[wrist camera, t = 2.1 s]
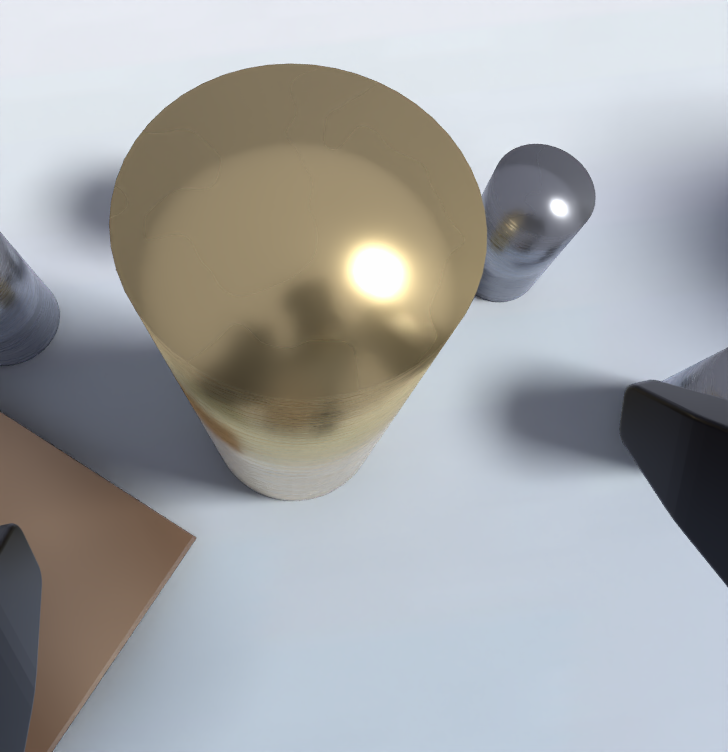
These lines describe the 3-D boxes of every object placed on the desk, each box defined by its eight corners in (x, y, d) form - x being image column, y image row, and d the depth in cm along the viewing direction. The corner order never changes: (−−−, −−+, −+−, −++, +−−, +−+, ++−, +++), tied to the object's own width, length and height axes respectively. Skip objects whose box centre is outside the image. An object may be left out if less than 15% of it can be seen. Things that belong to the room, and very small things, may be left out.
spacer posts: (713, 480, 21) (823, 457, 17) (-59, 359, 19) (-159, 299, 15) (705, 262, 23) (799, 192, 19) (20, 138, 22) (-46, 31, 17)
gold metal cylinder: (320, 532, 19) (369, 475, 8) (180, 444, 19) (23, 260, 8) (403, 396, 21) (547, 179, 9) (272, 316, 21) (253, 8, 9)
